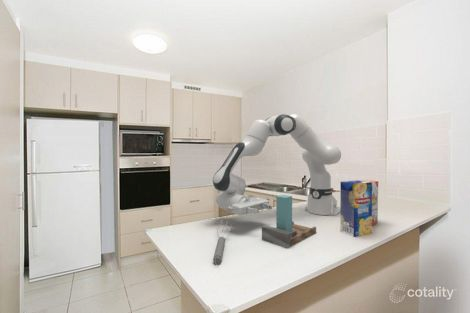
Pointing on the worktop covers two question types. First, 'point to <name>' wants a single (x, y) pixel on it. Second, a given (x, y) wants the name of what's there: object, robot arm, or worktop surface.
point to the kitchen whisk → (220, 247)
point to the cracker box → (374, 201)
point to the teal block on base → (284, 213)
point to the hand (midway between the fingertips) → (264, 209)
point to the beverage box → (356, 208)
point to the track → (286, 235)
